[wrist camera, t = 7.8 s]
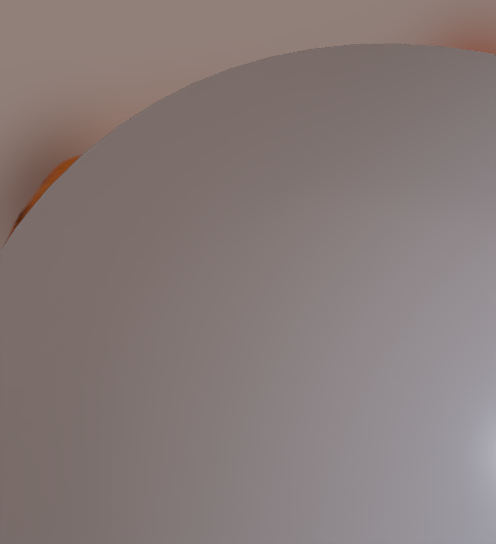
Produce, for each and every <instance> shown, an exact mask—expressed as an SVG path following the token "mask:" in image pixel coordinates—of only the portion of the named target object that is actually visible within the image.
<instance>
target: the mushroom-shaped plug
mask: <svg viewBox="0 0 496 544" xmlns="http://www.w3.org/2000/svg"><path fill="white" fill-rule="evenodd" d="M0 544H496V55H494V54H489V53H484V52H477V51H470V50H463V49H456V48H449V47H441V46H426V45H410V44H353V45H344V46H335V47H325V48H315V49H308V50H303V51H298V52H293V53H288V54H283V55H277V56H273V57H268V58H265V59H261V60H258V61H255V62H251V63H248V64H244V65H241V66H237V67H234V68H231V69H228V70H226V71H223V72H220V73H218V74H215V75H213V76H211V77H208V78H205V79H203V80H200V81H198V82H195V83H193V84H191V85H189V86H186V87H185V88H183V89H181V90H179V91H177V92H175V93H173V94H171V95H169V96H167V97H165V98H163V99H161V100H159V101H157V102H155V103H154V104H152V105H150V106H149V107H147V108H146V109H144V110H142V111H141V112H139V113H138V114H136V115H135V116H133V117H132V118H130V119H129V120H127V121H125V122H124V123H122V124H121V125H119V126H118V127H116V128H115V129H114V130H113V131H111V132H110V133H109V134H108V135H106V136H105V137H104V138H103V139H101V140H100V141H99V142H97V143H96V144H95V145H94V146H93V147H91V148H90V149H89V150H87V151H86V152H85V153H84V154H82V155H81V156H80V157H79V158H78V159H77V160H76V161H75V162H74V163H73V164H72V165H71V166H70V167H69V168H68V169H67V170H66V171H65V172H64V173H63V174H62V175H61V176H60V177H59V178H58V179H57V180H56V181H55V182H54V183H53V184H52V185H51V186H50V187H49V188H48V189H47V190H46V191H45V193H44V194H43V195H42V196H41V198H40V199H39V200H38V201H37V202H36V204H35V205H34V206H33V207H32V209H31V210H30V211H29V212H28V213H27V215H26V216H25V217H24V218H23V220H22V221H21V222H20V223H19V224H18V226H17V227H16V228H15V230H14V231H13V233H12V234H11V236H10V238H9V239H8V241H7V242H6V244H5V245H4V247H3V248H2V250H1V251H0Z"/></svg>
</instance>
